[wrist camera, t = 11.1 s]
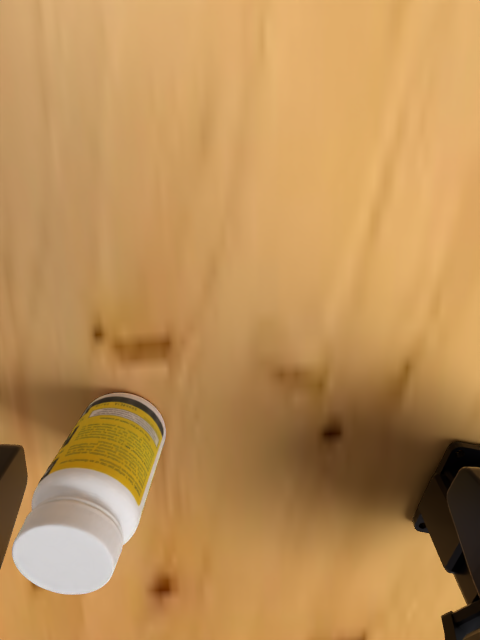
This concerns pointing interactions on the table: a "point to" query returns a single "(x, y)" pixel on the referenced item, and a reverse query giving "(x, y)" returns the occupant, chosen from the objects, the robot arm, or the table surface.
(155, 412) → the supplement bottle
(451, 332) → the table surface
